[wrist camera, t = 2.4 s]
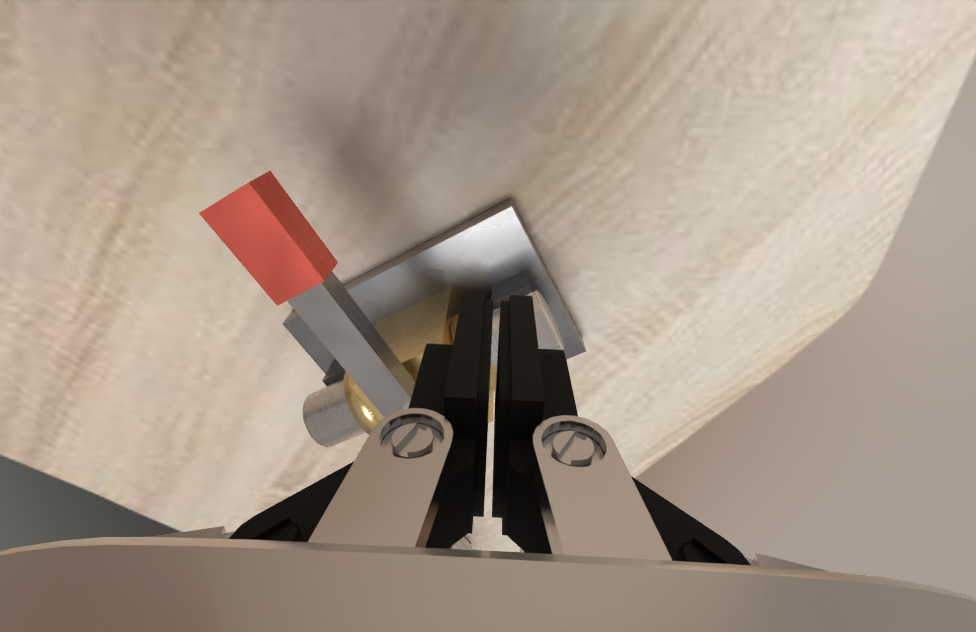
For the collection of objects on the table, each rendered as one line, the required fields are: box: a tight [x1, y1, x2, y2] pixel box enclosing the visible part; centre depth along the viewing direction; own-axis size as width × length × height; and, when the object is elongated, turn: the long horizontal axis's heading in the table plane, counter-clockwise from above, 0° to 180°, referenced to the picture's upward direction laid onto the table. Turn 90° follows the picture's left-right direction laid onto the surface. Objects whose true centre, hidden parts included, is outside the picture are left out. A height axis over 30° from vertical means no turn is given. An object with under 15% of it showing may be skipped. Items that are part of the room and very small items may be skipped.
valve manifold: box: [283, 198, 586, 447], centre depth 26 cm, size 10×15×8 cm, turn 118°
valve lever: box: [199, 171, 415, 417], centre depth 19 cm, size 13×3×2 cm, turn 28°
